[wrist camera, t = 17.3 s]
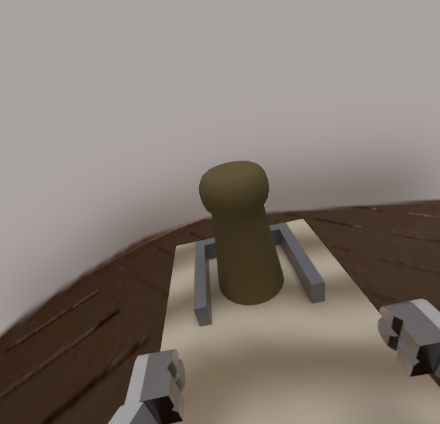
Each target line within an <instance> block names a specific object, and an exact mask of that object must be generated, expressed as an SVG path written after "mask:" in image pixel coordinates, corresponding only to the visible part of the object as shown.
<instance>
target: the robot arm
mask: <svg viewBox="0 0 440 424" xmlns="http://www.w3.org/2000/svg"><path fill="white" fill-rule="evenodd" d="M379 313H380V315H381V316H382V317H381V318H380V319H379V320H378V326H377V327H378V330H379V334H380V336H381V337H382V339H383V341H384V342H385V344H386V345H387V346H388V347H390V348H391V349H393V350H395V351H396V359H397V360H398V361H399V363H400V364H401V365H402V367H403V368H404V369H405V371H406V372H407V373H408V375H409V376H410V377H413V376H419V375H425V374H431V373H435V375H436V376H438V377H439V378H440V312H439V311H438V310H437V309H435V308H434V307H433V306H432V305H431V304H430V303H429V302H428V301H426V300H424V299H416V300H412V301H405V302H401V303H396V304H392V305H387V306H383V307H381V308H380V312H379ZM178 356H179V353H178V351H177V349H172V350H166V351H161V352H156V353H150V354H145V355H140V356H138V357H137V359H136V361H135V364H134V368H133V372H132V376H131V380H130V384H129V388H128V392H127V397H126V401H125V405H123V406H120V408H119V409H118V410H117V412H116V413H115V415H114V416H113V417H112V419H111V420H110V422H109V423H108V424H173V423H177V422H181V421H183V418H184V398H183V396H182V394H181V393H182V391H183V389H184V387H185V368H184V364H183V362H182V360H181V359H179V358H178Z"/></svg>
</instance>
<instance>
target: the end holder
mask: <svg viewBox="0 0 440 424" xmlns="http://www.w3.org/2000/svg"><path fill="white" fill-rule="evenodd" d="M270 229H271V233H272V236H273V240H274V243H275V246H276V245H281V246H282V247H283V249H284V251H285V253H286V255H287V257H288V259H289V261H290V263H291V264H292V266H293V268H294V270H295V272H296V274H297V276H298V278H299V280H300V281H301V283H302V285H303V287H304V289H305V291H306V293H307V295H308V297H309V298H310V300H311V302H312V303H317V302H322V301H325V282H324V280H323V279H322V277H321V275H320V274H319V272H318V271H317V269H316V268H315V266H314V265H313V263H312V262H311V260H310V259H309V257H308V256H307V254H306V253H305V251H304V250H303V248H302V246H301V245H300V243H299V242H298V240H297V239H296V237H295V236H294V234H293V233H292V231H291V230H290V228H289V227H288V225H287V224H286V222H285V223H280V224H276V225H271V226H270ZM215 258H216V249H215V239H214V238H211V239H206V240H201V241H197V242H195V275H194V312H195V315H196V318H197V320H198V323H199V326H200V327H201V326H206V325H210V324H212V311H211V292H210V273H209V260H211V259H215Z"/></svg>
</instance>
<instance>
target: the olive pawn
mask: <svg viewBox="0 0 440 424" xmlns="http://www.w3.org/2000/svg"><path fill="white" fill-rule="evenodd" d="M268 193H269V184H268V179H267V176H266V173H265V171H264V170H263V169H262V167H261V166H260V165H258V164H256V163H253V162H249V161H234V162H229V163H224V164H221V165H218V166H215V167H213V168H211V169H210V170H208V171H207V172H206V173H205V174H204V175H203V176H202V179H201V182H200V185H199V194H200V197H201V200H202V203H203V205H204V206H205V208H206V210H207V211H209V212H210V213H211V214H212V219H213V229H214V239H215V249H216V259H217V269H218V279H219V286H220V290H221V293H222V294H223V295H224V296H225V297H226V298H227V299H228V300H230V301H232V302H234V303H236V304H241V305H246V306H247V305H258V304H261V303H264V302H267V301H269V300H271V299H272V298H273V297H275V296H276V295H277V294H278V293H279V291H280V290H281V289H282V287H283V283H284V276H283V272H282V268H281V265H280V261H279V258H278V254H277V250H276V247H275V243H274V240H273V236H272V233H271V229H270V226H269V222H268V219H267V215H266V212H265V208H264V203H265V202H266V199H267V198H268Z"/></svg>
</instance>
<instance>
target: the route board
mask: <svg viewBox="0 0 440 424" xmlns="http://www.w3.org/2000/svg"><path fill="white" fill-rule="evenodd" d="M286 224H287V225H288V227H289V228H290V230H291V231H292V233H293V234H294V236H295V237H296V239H297V240H298V242H299V243H300V245H301V246H302V248H303V250H304V251H305V253H306V254H307V256H308V257H309V259H310V260H311V262H312V263H313V265H314V266H315V268H316V269H317V271H318V272H319V274H320V275H321V277H322V279H323V280H324V282H325V301H322V302H317V303H312V302H311V300H310V298H309V297H308V295H307V293H306V291H305V289H304V287H303V285H302V283H301V281H300V280H299V278H298V276H297V274H296V272H295V270H294V268H293V266H292V264H291V263H290V261H289V259H288V257H287V255H286V253H285V251H284V249H283V247H282V246H281V245H276V246H275V247H276V250H277V254H278V258H279V261H280V265H281V268H282V272H283V276H284V283H283V287H282V289H281V290H280V291H279V293H278V294H277V295H276V296H275V297H273V298H272V299H271V300H269V301H267V302H264V303H261V304H258V305H247V306H246V305H241V304H236V303H234V302H232V301H230V300H228V299H227V298H226V297H225V296H224V295H223V294H222V293H221V290H220V286H219V279H218V269H217V259H216V258H215V259H211V260H209V273H210V292H211V311H212V324H210V325H206V326H201V327H200V326H199V323H198V320H197V318H196V315H195V312H194V275H195V242H193V243H189V244H184V245H179V246H176V252H175V258H174V265H173V272H172V278H171V285H170V291H169V298H168V305H167V311H166V318H165V325H164V331H163V338H162V344H161V351H166V350H172V349H177V351H178V353H179V356H178V358H179V359H181V360H182V362H183V364H184V368H185V387H184V389H183V391H182V393H181V394H182V396H183V398H184V418H183V421H181V422H177V423H173V424H440V388H439V386H438V385H437V384H436V383H435V381H434V380H433V379H432V378H431V376H430V375H429V374H425V375H419V376H413V377H410V376H409V375H408V373H407V372H406V371H405V369H404V368H403V367H402V365H401V364H400V363H399V361H398V360H397V359H396V351H395V350H393V349H391V348H390V347H388V346H387V345H386V344H385V342H384V341H383V339H382V337H381V336H380V334H379V330H378V327H377V326H378V320H379V319H380V318H381V317H382V316H381V315H380V313H379V312H378V311H377V310H376V309H375V307H374V306H373V305H372V304H371V302H370V301H369V300H368V299H367V297H366V296H365V295H364V294H363V292H362V291H361V290H360V289H359V288H358V286H357V285H356V284H355V283H354V281H353V280H352V279H351V278H350V276H349V275H348V274H347V273H346V271H345V270H344V269H343V268H342V266H341V265H340V264H339V263H338V262H337V260H336V259H335V258H334V257H333V255H332V254H331V253H330V252H329V250H328V249H327V248H326V247H325V245H324V244H323V243H322V242H321V241H320V239H319V238H318V237H317V236H316V234H315V233H314V232H313V231H312V229H311V228H310V227H309V226H308V224H307V223H306V222H305V221H304V220H303V219H300V220H296V221H291V222H286ZM161 351H160V352H161Z"/></svg>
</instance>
